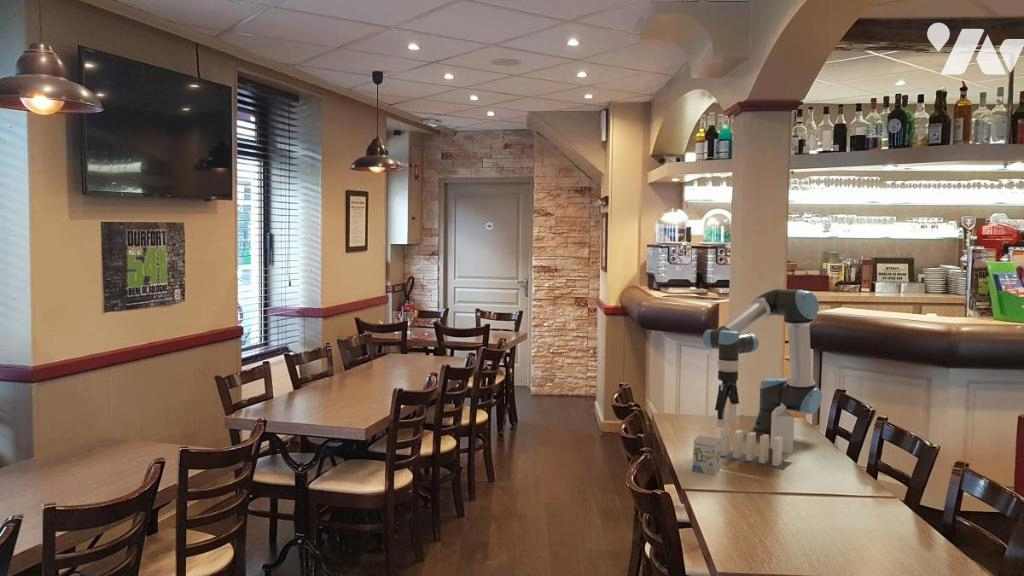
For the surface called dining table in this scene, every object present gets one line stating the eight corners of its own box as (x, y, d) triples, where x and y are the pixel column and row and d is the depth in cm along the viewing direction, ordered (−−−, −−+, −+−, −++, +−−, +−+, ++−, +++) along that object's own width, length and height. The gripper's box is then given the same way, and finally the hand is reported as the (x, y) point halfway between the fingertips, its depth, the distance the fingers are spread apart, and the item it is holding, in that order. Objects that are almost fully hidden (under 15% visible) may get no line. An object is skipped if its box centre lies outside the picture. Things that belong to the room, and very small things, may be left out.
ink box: (691, 471, 265) (692, 440, 264) (697, 465, 272) (698, 434, 272) (715, 475, 261) (716, 443, 260) (720, 469, 268) (721, 438, 268)
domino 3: (762, 459, 280) (763, 434, 279) (768, 460, 279) (769, 434, 278) (758, 462, 276) (759, 436, 275) (764, 463, 275) (765, 437, 274)
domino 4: (776, 462, 277) (777, 436, 276) (781, 463, 276) (782, 437, 275) (772, 465, 273) (773, 439, 272) (777, 466, 272) (778, 439, 271)
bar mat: (720, 450, 293) (720, 449, 293) (792, 463, 277) (792, 462, 277) (709, 456, 283) (709, 455, 283) (783, 471, 267) (783, 470, 267)
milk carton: (787, 448, 297) (789, 403, 296) (792, 453, 290) (795, 406, 289) (770, 448, 298) (772, 402, 296) (774, 452, 291) (776, 406, 289)
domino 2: (749, 457, 283) (750, 431, 282) (755, 458, 282) (756, 432, 281) (745, 460, 279) (746, 434, 278) (751, 461, 278) (752, 435, 277)
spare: (724, 452, 289) (725, 427, 288) (729, 453, 287) (730, 428, 287) (720, 455, 284) (721, 430, 284) (725, 456, 283) (726, 431, 283)
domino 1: (737, 454, 286) (738, 429, 285) (742, 455, 284) (743, 430, 284) (732, 457, 282) (733, 432, 281) (738, 458, 280) (739, 433, 280)
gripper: (729, 364, 296) (728, 415, 298) (707, 374, 276) (706, 428, 277) (747, 366, 292) (746, 418, 293) (726, 376, 271) (725, 432, 273)
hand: (726, 423), depth 285 cm, fingers open, 13 cm apart
